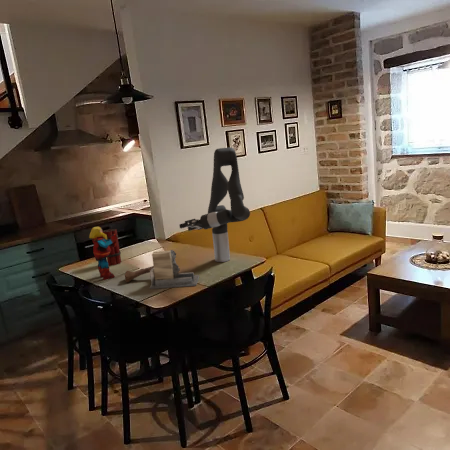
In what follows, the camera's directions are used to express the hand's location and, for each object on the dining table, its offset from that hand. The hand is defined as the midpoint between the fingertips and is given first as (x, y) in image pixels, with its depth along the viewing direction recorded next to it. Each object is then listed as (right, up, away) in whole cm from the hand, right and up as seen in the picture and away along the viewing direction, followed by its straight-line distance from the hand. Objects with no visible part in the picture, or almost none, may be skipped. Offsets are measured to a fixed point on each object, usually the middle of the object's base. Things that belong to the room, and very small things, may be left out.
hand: (184, 227), depth 212 cm
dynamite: (-49, -23, +48) cm, 72 cm away
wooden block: (-10, -28, +2) cm, 30 cm away
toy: (-45, -29, +21) cm, 57 cm away
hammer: (-18, -28, +13) cm, 36 cm away
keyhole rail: (-5, -29, +1) cm, 29 cm away
